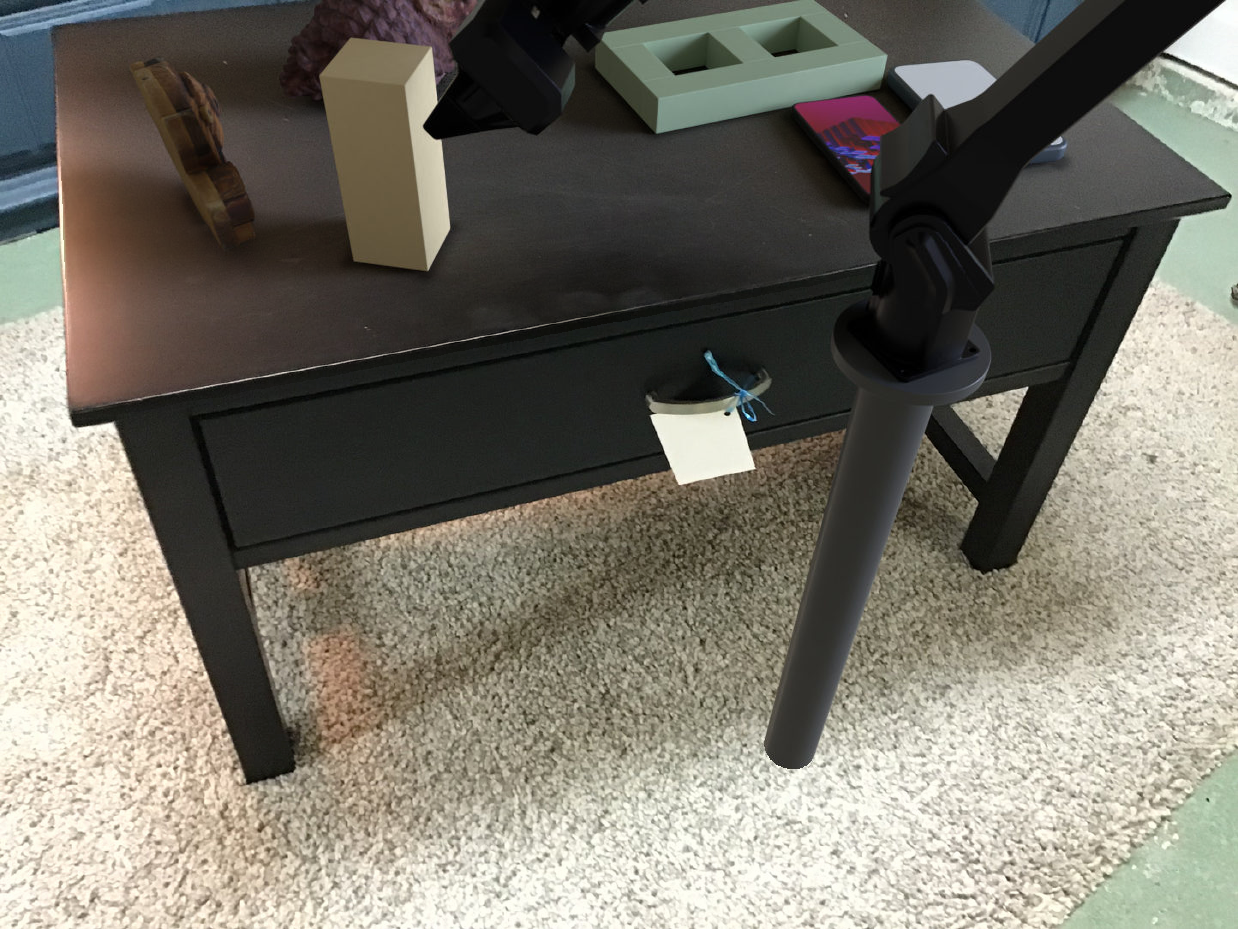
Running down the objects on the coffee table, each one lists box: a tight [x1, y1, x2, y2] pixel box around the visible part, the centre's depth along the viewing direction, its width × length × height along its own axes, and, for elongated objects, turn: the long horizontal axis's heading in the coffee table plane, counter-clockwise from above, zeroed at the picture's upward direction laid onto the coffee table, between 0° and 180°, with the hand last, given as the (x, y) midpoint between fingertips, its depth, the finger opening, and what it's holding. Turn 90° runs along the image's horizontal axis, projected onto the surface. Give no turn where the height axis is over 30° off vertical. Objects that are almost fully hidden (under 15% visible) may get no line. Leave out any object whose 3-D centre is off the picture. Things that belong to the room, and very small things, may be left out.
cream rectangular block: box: [319, 38, 451, 272], centre depth 67 cm, size 5×5×13 cm
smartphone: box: [790, 94, 902, 205], centre depth 81 cm, size 8×1×15 cm
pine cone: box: [278, 0, 478, 101], centre depth 84 cm, size 18×10×10 cm
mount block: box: [594, 0, 888, 135], centre depth 89 cm, size 12×21×3 cm, turn 114°
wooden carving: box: [129, 56, 256, 251], centre depth 70 cm, size 16×5×10 cm, turn 36°
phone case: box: [886, 58, 1068, 165], centre depth 85 cm, size 9×2×16 cm
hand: (452, 95), depth 63 cm, fingers open, 9 cm apart
